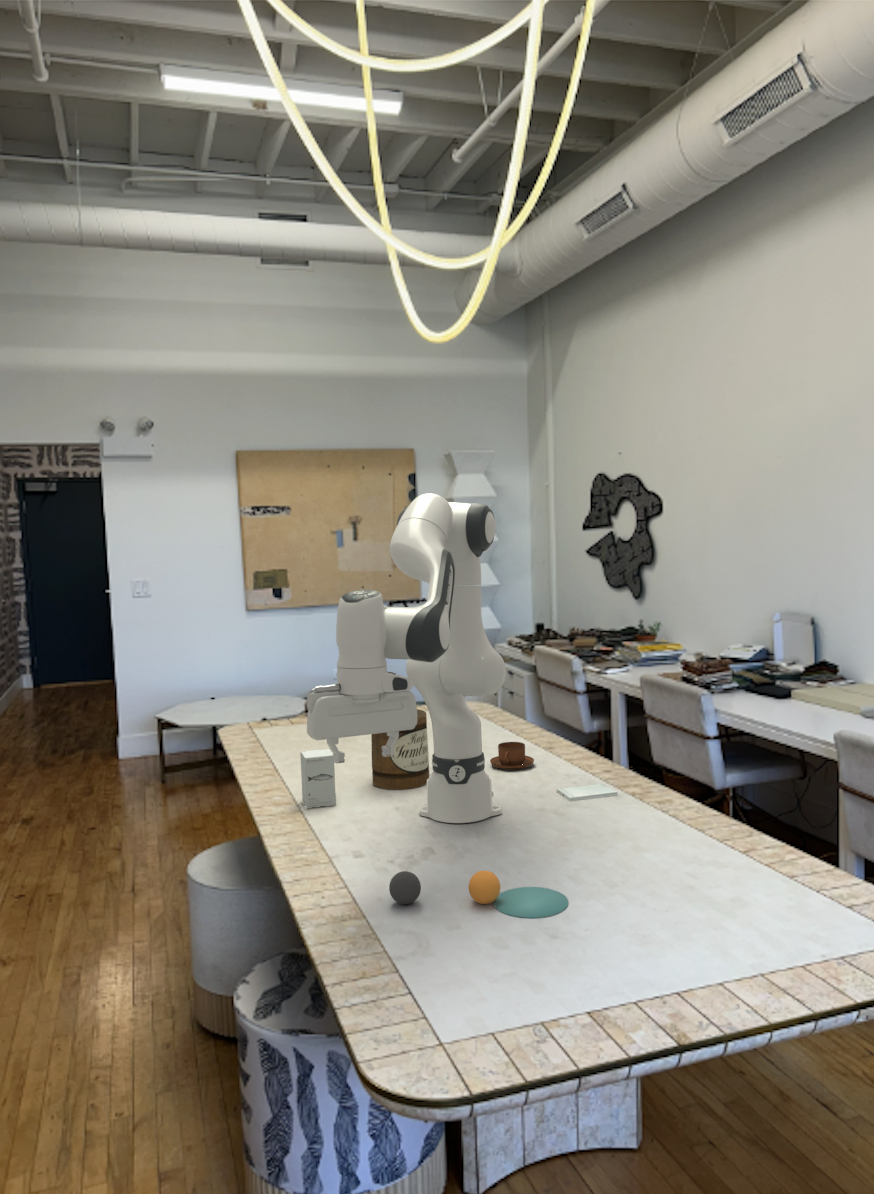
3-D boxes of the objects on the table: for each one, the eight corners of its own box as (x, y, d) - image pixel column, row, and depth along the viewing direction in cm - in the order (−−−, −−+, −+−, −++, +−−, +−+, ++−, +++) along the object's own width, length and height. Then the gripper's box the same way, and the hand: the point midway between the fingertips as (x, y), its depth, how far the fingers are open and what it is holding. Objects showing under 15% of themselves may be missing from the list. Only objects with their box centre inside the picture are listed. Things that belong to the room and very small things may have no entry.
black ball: (392, 896, 166) (390, 866, 166) (423, 896, 165) (421, 866, 165) (387, 909, 160) (386, 878, 160) (419, 909, 160) (418, 878, 159)
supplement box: (306, 809, 220) (303, 757, 219) (302, 801, 227) (299, 750, 226) (336, 806, 222) (334, 754, 221) (331, 797, 229) (329, 747, 228)
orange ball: (469, 896, 165) (468, 865, 164) (501, 896, 164) (500, 865, 164) (468, 909, 159) (467, 877, 159) (500, 909, 159) (499, 877, 158)
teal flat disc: (494, 888, 168) (494, 887, 168) (566, 887, 167) (566, 886, 167) (492, 918, 155) (492, 917, 155) (570, 918, 154) (570, 916, 154)
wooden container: (405, 793, 231) (401, 706, 229) (361, 785, 240) (357, 701, 238) (440, 779, 243) (437, 696, 241) (397, 771, 252) (394, 692, 250)
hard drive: (602, 782, 230) (556, 788, 227) (617, 791, 222) (569, 797, 219) (602, 789, 230) (556, 794, 227) (617, 798, 222) (569, 803, 219)
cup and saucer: (536, 772, 247) (535, 749, 246) (491, 773, 247) (490, 750, 247) (532, 760, 259) (531, 739, 258) (489, 762, 259) (488, 740, 258)
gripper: (313, 689, 156) (314, 770, 156) (420, 679, 165) (421, 756, 166) (300, 684, 161) (302, 763, 162) (405, 675, 171) (406, 749, 172)
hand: (363, 759), depth 164 cm, fingers open, 8 cm apart
